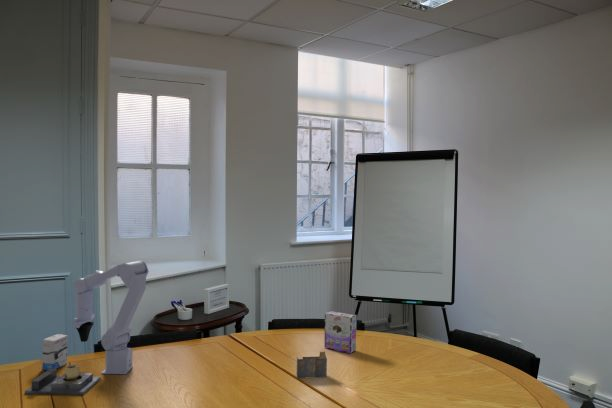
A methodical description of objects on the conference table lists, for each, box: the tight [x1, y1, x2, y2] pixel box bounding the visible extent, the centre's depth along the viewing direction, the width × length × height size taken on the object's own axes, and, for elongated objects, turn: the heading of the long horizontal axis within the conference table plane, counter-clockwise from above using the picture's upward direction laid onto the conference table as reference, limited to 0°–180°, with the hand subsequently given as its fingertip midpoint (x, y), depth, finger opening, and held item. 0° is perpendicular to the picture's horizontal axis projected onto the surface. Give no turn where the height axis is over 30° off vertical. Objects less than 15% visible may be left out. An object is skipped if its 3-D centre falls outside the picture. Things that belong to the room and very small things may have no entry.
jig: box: [24, 368, 101, 396], centre depth 171 cm, size 20×14×4 cm
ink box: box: [41, 333, 69, 371], centre depth 190 cm, size 8×5×12 cm, turn 168°
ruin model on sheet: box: [296, 351, 328, 379], centre depth 186 cm, size 11×3×10 cm, turn 98°
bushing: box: [64, 364, 80, 381], centre depth 171 cm, size 4×4×6 cm
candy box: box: [323, 310, 358, 354], centre depth 218 cm, size 14×6×16 cm, turn 58°
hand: (84, 341), depth 193 cm, fingers closed
